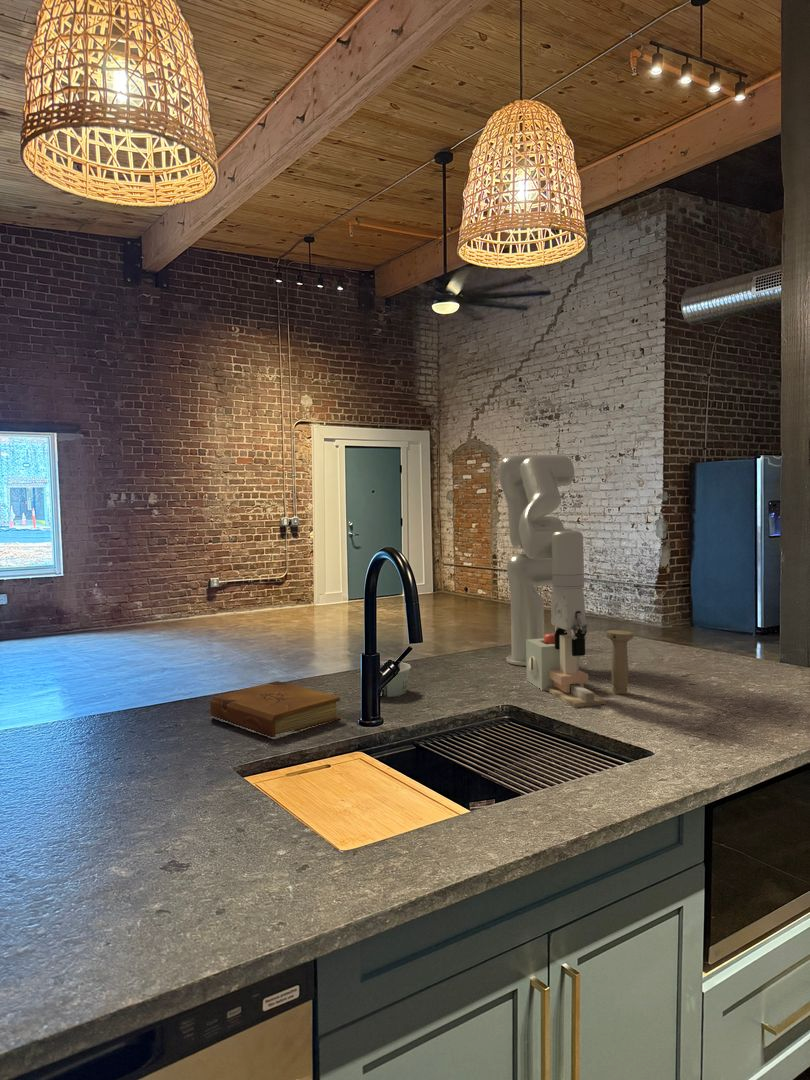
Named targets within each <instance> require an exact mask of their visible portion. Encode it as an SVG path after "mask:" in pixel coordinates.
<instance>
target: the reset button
mask: <svg viewBox="0 0 810 1080" xmlns="http://www.w3.org/2000/svg"><path fill="white" fill-rule="evenodd" d="M544 643H545V644H555V633H544Z"/></svg>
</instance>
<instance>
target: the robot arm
mask: <svg viewBox="0 0 810 1080" xmlns="http://www.w3.org/2000/svg"><path fill="white" fill-rule="evenodd" d="M498 470H499V471H498V474H499V475H498V478H499V483H500V487H501V489H502V492H503V494H504V497H505V500H506V505H507V519H508V528H509V529H508V530H509V541H510V544H511V545H512V547H513V548H515V549H519V550H523V551H524V553H519V554H514V555H513V556H511V557H510V558H509V559H508V560H507V563H506V573H507V578H508V586H509V595H510V596H509V597H510V631H511V632H510V635H511V638H510V639H511V640H510V642H511V646H510V647H511V654H509V655H507V656H506V657H505V658H506V662H507V663H508V664H510V665H516V666H523V667H524V666H525V667H526V640H528V639H542V638H544V634H545V608H544V607H545V606H544V605H545V604H544V600H543V597H542V596H541V594H540V593H539V592H538V591H537V590H536V588H537V587H545V586H547V587H550V586H552V591H551V592H552V593H551V594H552V595H551V602H550V603H551V605H550V607H551V608H550V609H551V610H550V612H551V613H550V623H551V625H552V626H553V634H555V649H560V635H568V632H567V631H569V630H570V632H571V635H572V636H573V639H572V656H579V657H581V656H583V657H584V656H585V655H586V637H587V636H586V635H587V632H588V631H587V629H588V623H589V622H587V620H586V605H585V604H586V603H585V594H584V588H585V564H584V560H585V559H584V557H585V555H584V535H583V533H582V532H581V531H579V530H574V529H570V528H568V529H567V528H565V526H564V523H563V522H562V520H561V519H560V518H559V517H557V516H552V515H549V514H551V513H553V512H554V511H556V510H557V509H558V508H559V506H560V504H561V503H562V497H561V493H560V490H559V488H558V487H567V486H570V485H572V483H573V481H574V478H575V468H574V464H573V462H572V460H571V459H570V457H568V456H567V455H563V454H561V455H560V454H538V455H537V454H529V455H528V454H527V455H525V454H523V455H522V454H520V455H519V454H518V455H512V456H508V457H506V458H504V459H502V460H501V462H500V464H499V469H498Z"/></svg>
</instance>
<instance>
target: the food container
mask: <svg viewBox="0 0 810 1080" xmlns="http://www.w3.org/2000/svg"><path fill="white" fill-rule="evenodd" d="M380 662H381V664H382V665H383V664H384V663H386V662H387V661H380ZM400 662H401V661H400ZM411 669H412V666H411V664H409V663H406V662H401V663H400V671H399V672H398V674H397V675H396V676H395V677H394V678H393V679H392V680H391V681H390V682H389V683H388V684H387V685H386V686H385V687H384V689H383V690H382V697H381V698H392V697H400V696H402V694H403V695H404V693H405V694H406V693H407V689H408V688H407V687H408V679H409V675H410V674H409V673H410V670H411Z"/></svg>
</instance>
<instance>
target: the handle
mask: <svg viewBox="0 0 810 1080" xmlns="http://www.w3.org/2000/svg"><path fill="white" fill-rule="evenodd" d="M605 634H606V638H608V639H609V640H611V641H612V653H611V655H612V657H611V682H612V691H613V693H614V692H615V693H614V694H616V695H625V693H626V694H627V693H628V688H627V687H628V685H629V661H628V660H629V659H628V642H630V641H631V640H632V639H634V632H633V631H628V630H621V629H620V630H619V629H611V630H607V631H606V632H605ZM619 693H620V694H619Z"/></svg>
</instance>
